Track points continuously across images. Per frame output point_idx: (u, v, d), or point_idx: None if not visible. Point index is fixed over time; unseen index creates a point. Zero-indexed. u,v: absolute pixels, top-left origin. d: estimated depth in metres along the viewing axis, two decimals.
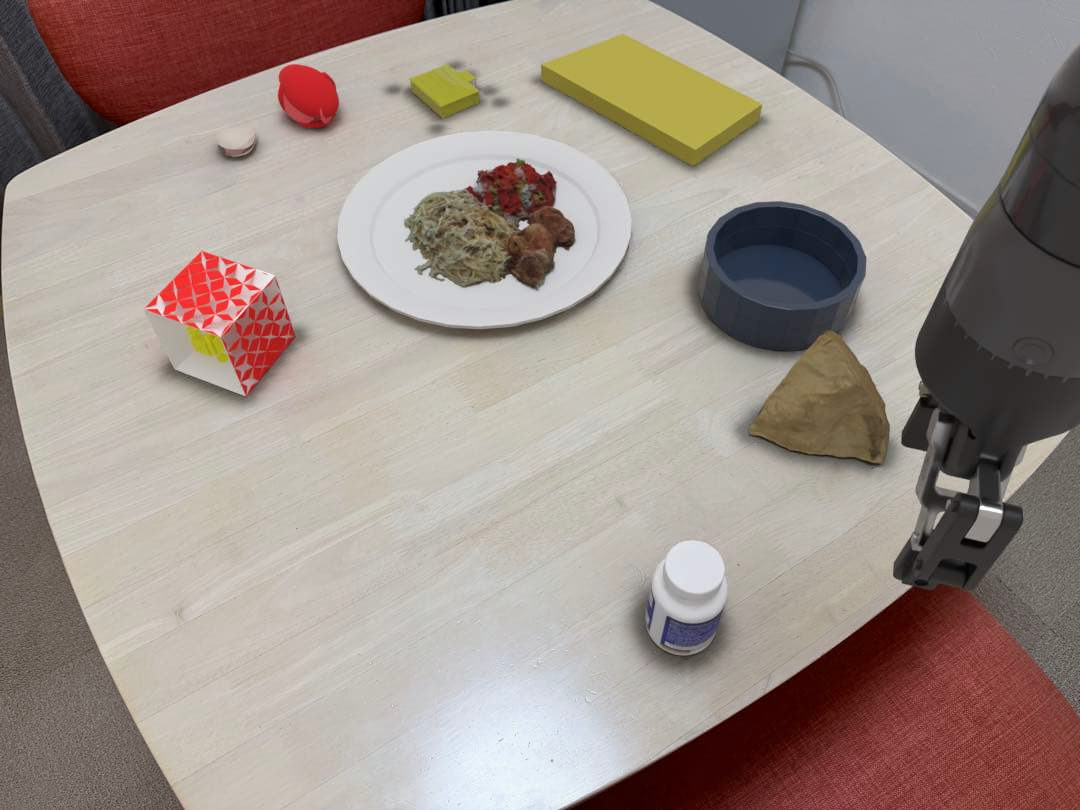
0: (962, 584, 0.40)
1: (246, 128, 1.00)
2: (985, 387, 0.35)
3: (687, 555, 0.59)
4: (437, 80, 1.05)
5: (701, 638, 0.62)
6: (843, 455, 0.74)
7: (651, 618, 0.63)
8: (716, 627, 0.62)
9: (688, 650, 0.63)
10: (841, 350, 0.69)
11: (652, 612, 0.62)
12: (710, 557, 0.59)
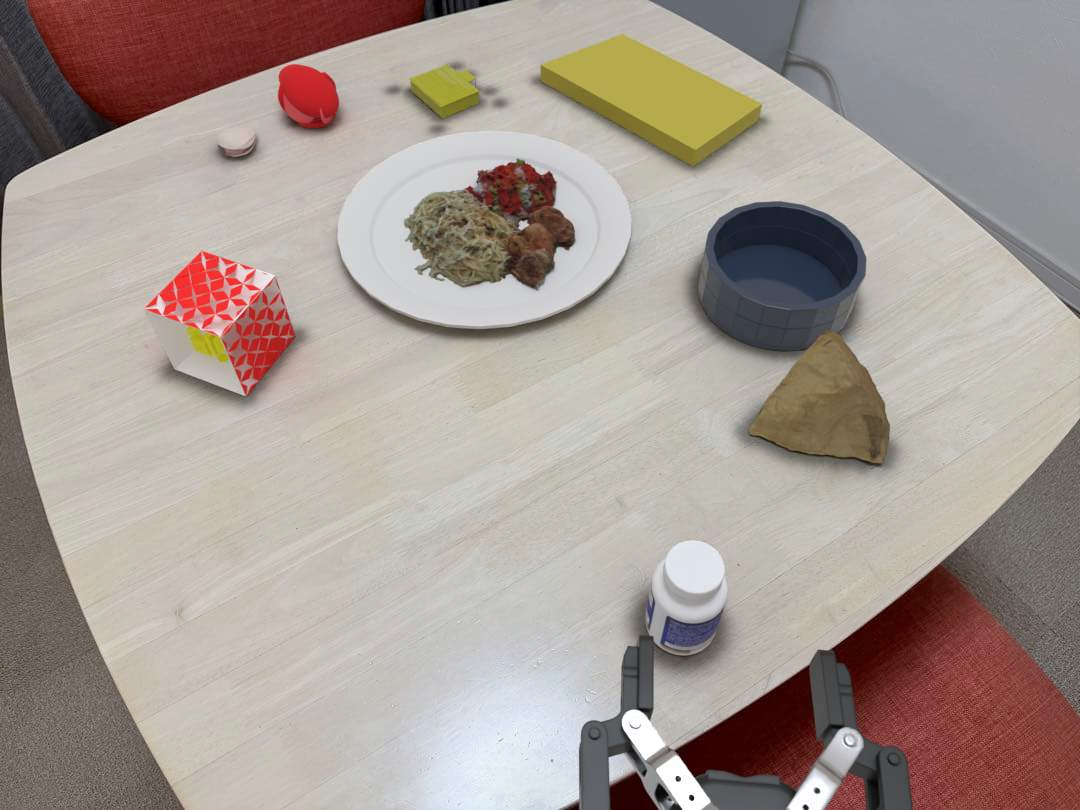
0: None
1: (246, 128, 1.00)
2: None
3: (687, 555, 0.59)
4: (436, 80, 1.05)
5: (701, 638, 0.62)
6: (843, 455, 0.74)
7: (651, 618, 0.63)
8: (716, 627, 0.62)
9: (688, 650, 0.63)
10: (841, 350, 0.69)
11: (652, 612, 0.62)
12: (710, 557, 0.59)
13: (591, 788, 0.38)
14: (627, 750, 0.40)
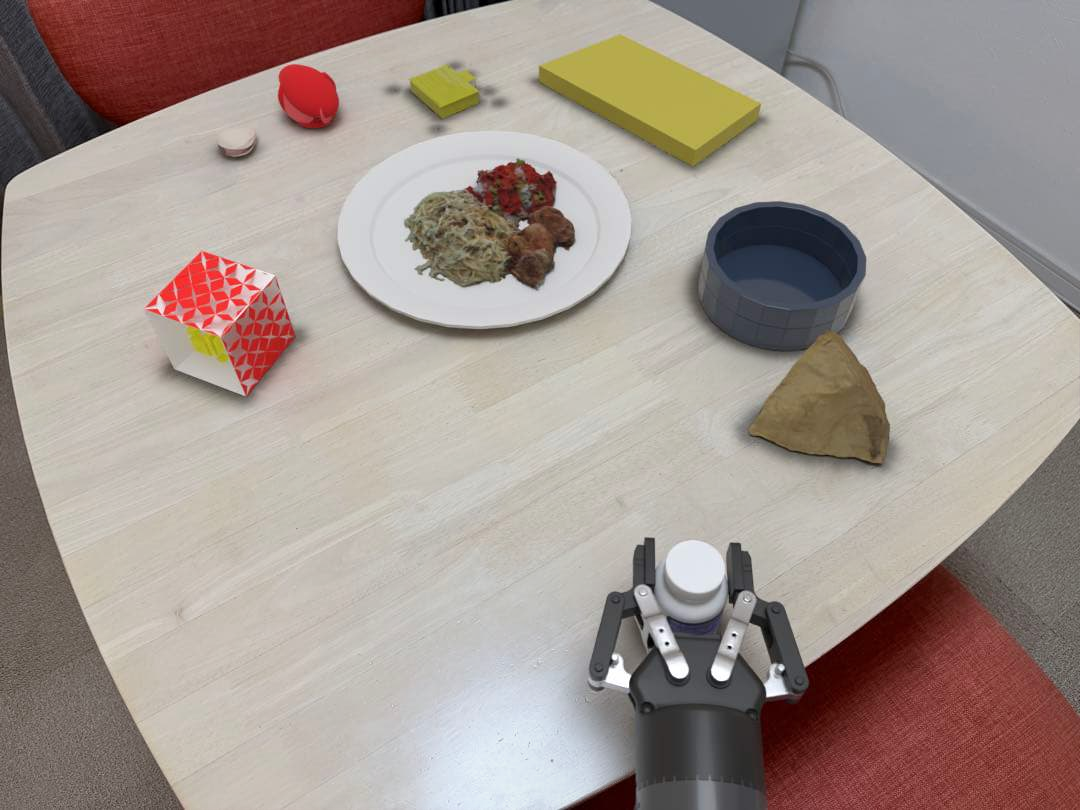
0: None
1: (246, 128, 1.00)
2: None
3: (687, 555, 0.59)
4: (436, 80, 1.05)
5: None
6: (843, 455, 0.74)
7: None
8: (716, 627, 0.63)
9: None
10: (841, 350, 0.69)
11: None
12: (711, 557, 0.59)
13: (605, 631, 0.57)
14: (638, 613, 0.59)
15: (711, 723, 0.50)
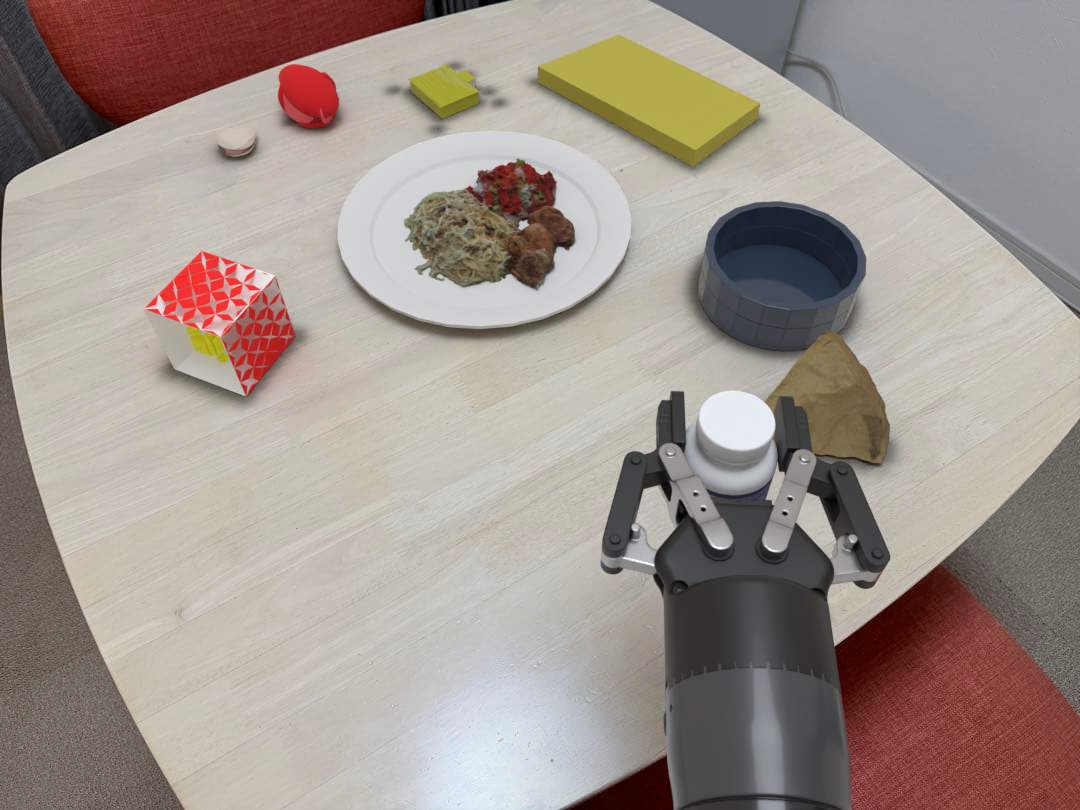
0: None
1: (246, 128, 1.00)
2: None
3: (727, 407, 0.46)
4: (436, 81, 1.05)
5: None
6: (843, 455, 0.74)
7: None
8: None
9: None
10: (841, 350, 0.69)
11: None
12: (757, 409, 0.46)
13: (622, 496, 0.44)
14: (664, 481, 0.46)
15: (767, 598, 0.38)
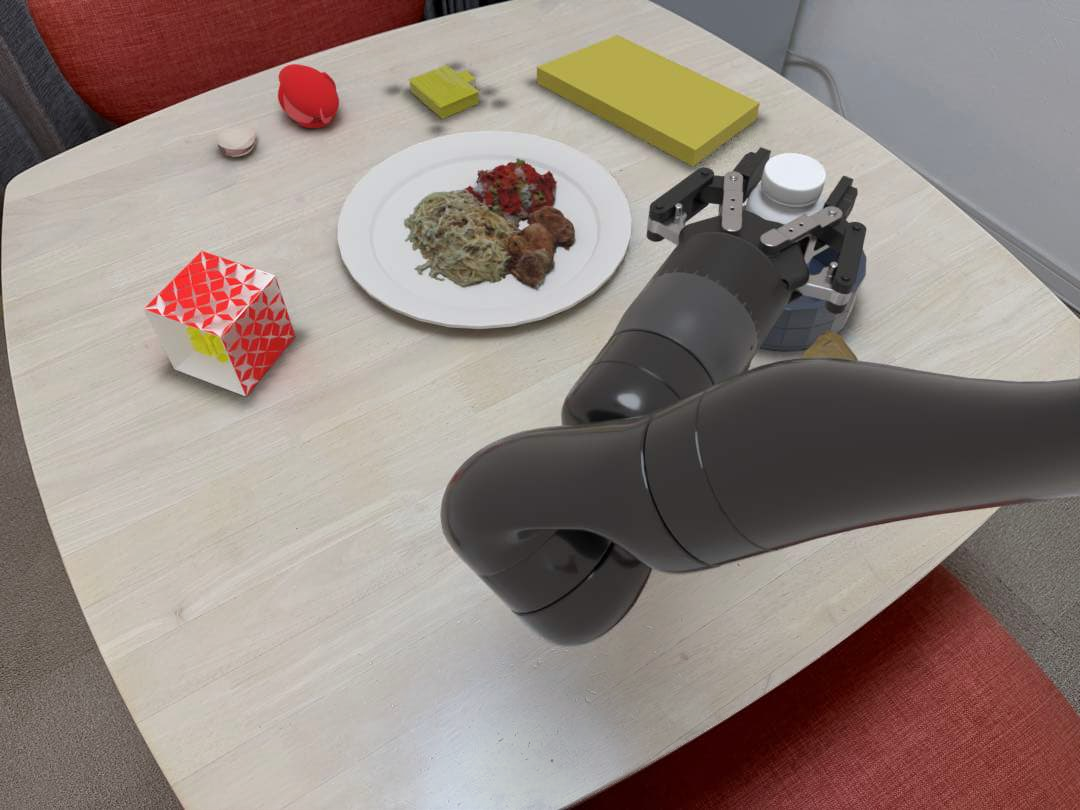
0: None
1: (246, 128, 1.00)
2: None
3: (793, 162, 0.58)
4: (436, 81, 1.05)
5: None
6: None
7: None
8: None
9: None
10: (841, 350, 0.69)
11: None
12: (815, 170, 0.57)
13: (681, 187, 0.57)
14: (722, 202, 0.59)
15: (733, 247, 0.50)
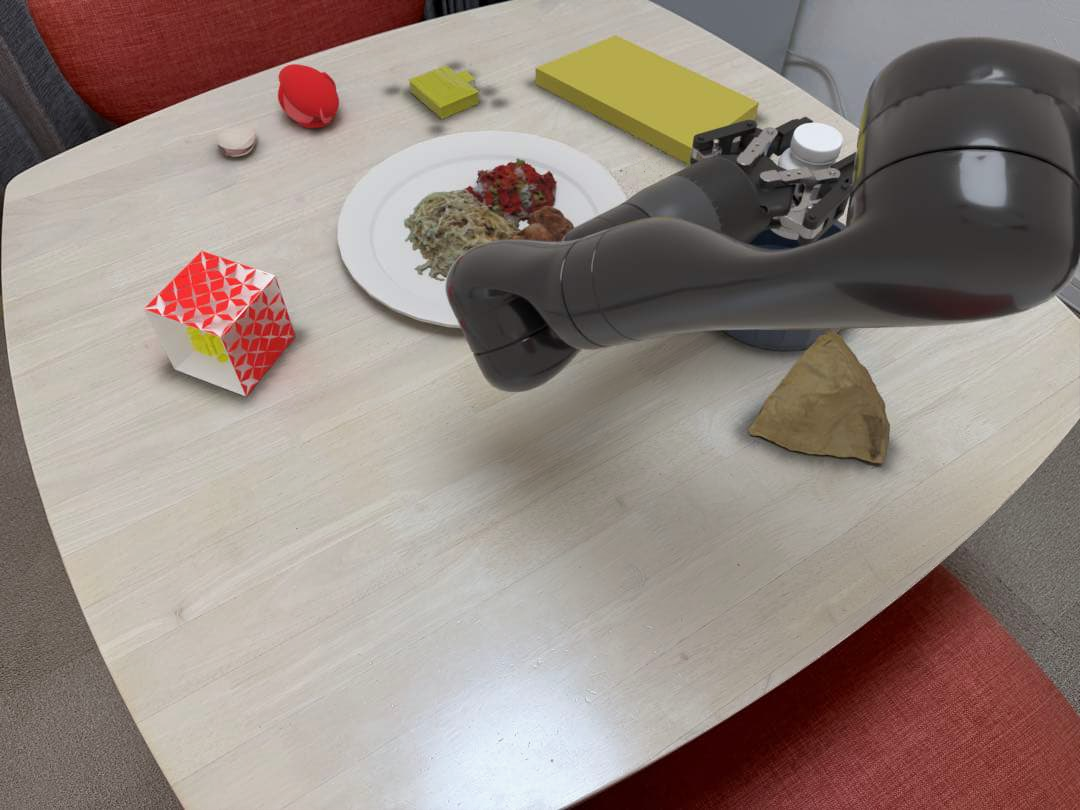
0: (846, 197, 0.69)
1: (246, 128, 1.00)
2: None
3: (820, 130, 0.73)
4: (436, 81, 1.05)
5: None
6: (843, 455, 0.74)
7: None
8: None
9: None
10: (841, 350, 0.69)
11: None
12: (834, 139, 0.72)
13: (725, 129, 0.74)
14: None
15: (726, 168, 0.66)
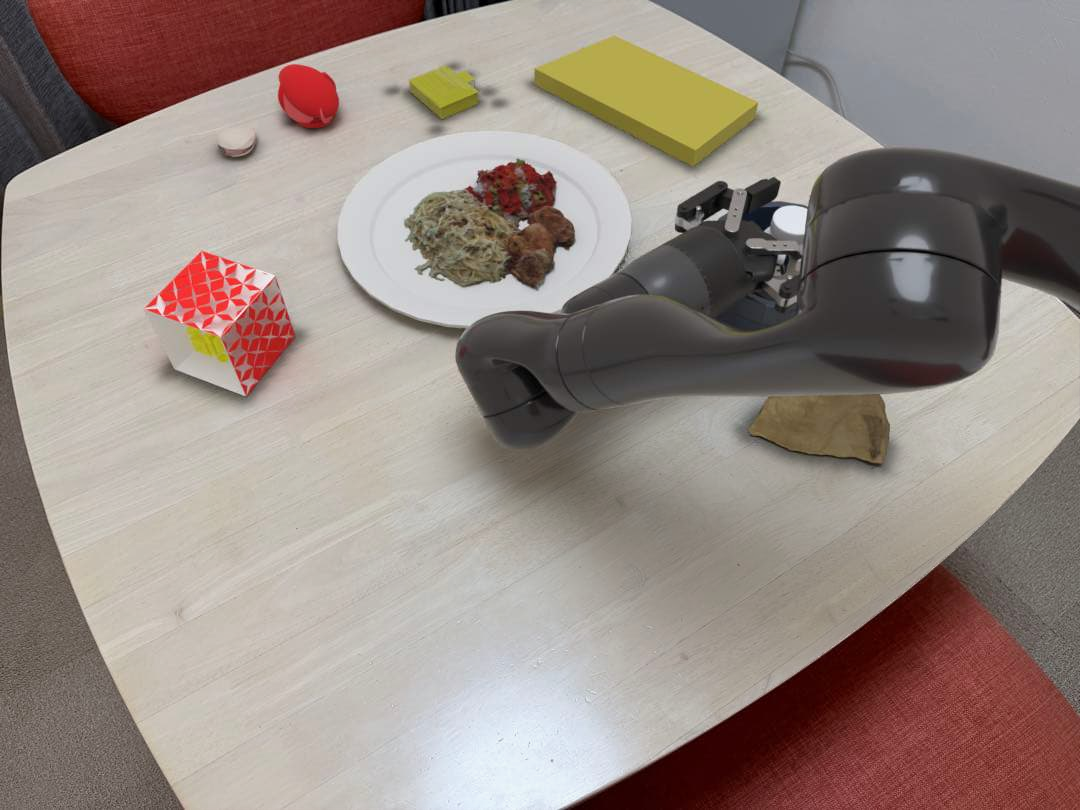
0: None
1: (246, 128, 1.00)
2: (719, 314, 0.74)
3: (797, 213, 0.79)
4: (436, 81, 1.05)
5: None
6: (843, 455, 0.74)
7: None
8: None
9: (760, 295, 0.84)
10: None
11: None
12: None
13: (702, 194, 0.79)
14: None
15: (714, 239, 0.72)
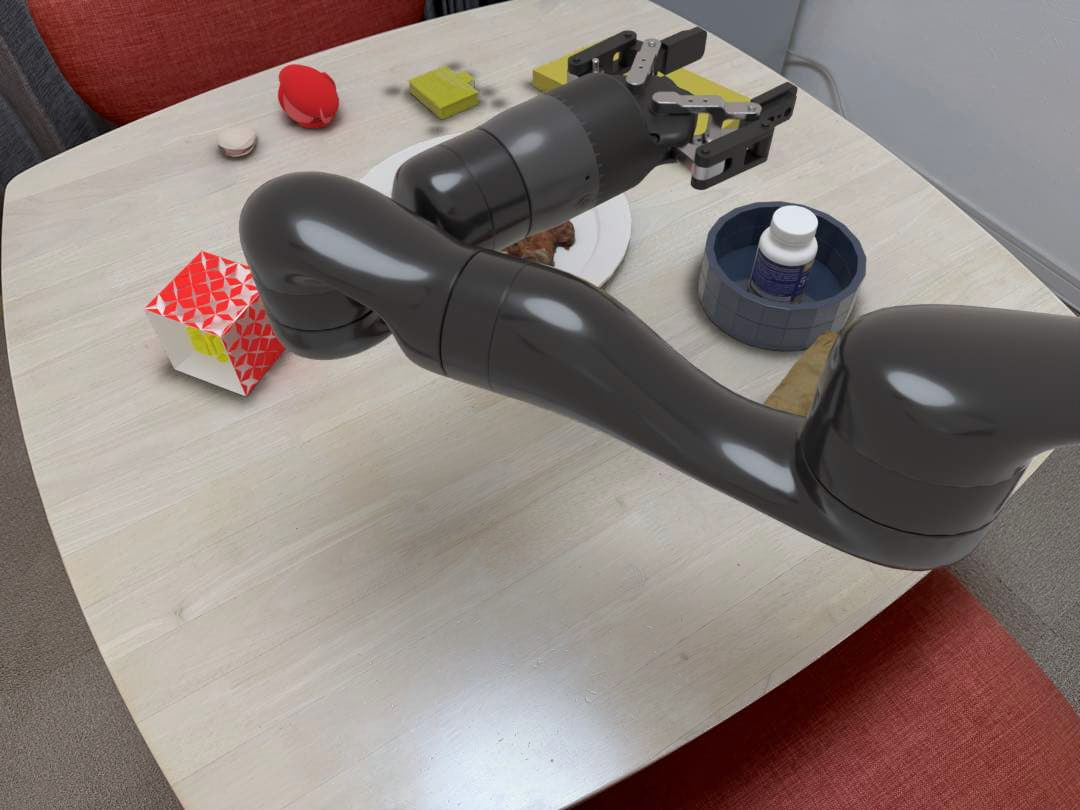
0: (768, 137, 0.55)
1: (246, 128, 1.00)
2: (616, 192, 0.55)
3: (797, 213, 0.79)
4: (435, 82, 1.05)
5: (772, 287, 0.82)
6: None
7: None
8: (787, 290, 0.82)
9: (760, 295, 0.84)
10: None
11: None
12: (809, 222, 0.79)
13: (601, 45, 0.60)
14: None
15: (605, 85, 0.53)
